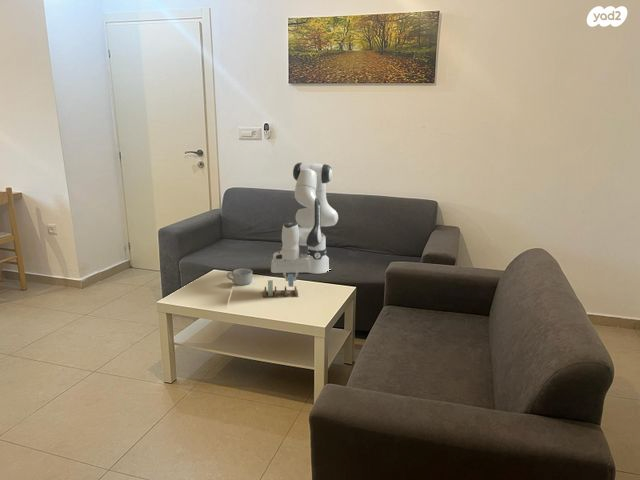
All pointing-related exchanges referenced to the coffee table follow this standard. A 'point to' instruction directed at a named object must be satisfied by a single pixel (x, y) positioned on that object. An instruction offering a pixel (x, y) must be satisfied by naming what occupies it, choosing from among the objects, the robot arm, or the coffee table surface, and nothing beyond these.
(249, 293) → the coffee table surface
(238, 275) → the teacup
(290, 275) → the blue plate
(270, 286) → the sage plate
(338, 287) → the coffee table surface
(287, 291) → the rack
